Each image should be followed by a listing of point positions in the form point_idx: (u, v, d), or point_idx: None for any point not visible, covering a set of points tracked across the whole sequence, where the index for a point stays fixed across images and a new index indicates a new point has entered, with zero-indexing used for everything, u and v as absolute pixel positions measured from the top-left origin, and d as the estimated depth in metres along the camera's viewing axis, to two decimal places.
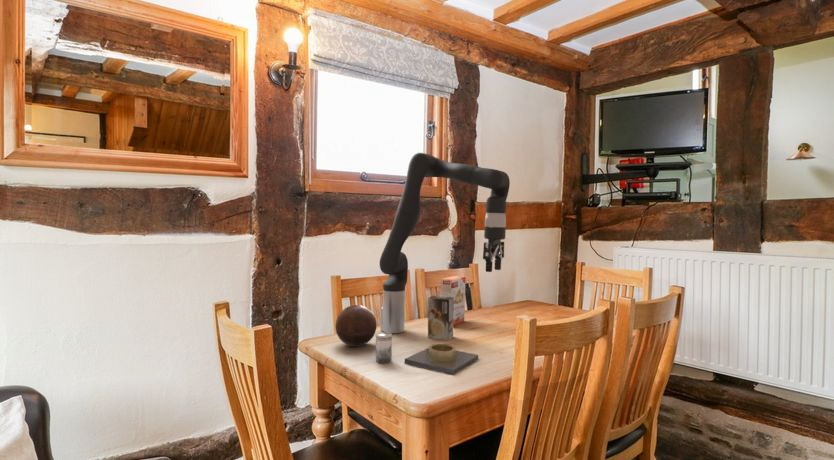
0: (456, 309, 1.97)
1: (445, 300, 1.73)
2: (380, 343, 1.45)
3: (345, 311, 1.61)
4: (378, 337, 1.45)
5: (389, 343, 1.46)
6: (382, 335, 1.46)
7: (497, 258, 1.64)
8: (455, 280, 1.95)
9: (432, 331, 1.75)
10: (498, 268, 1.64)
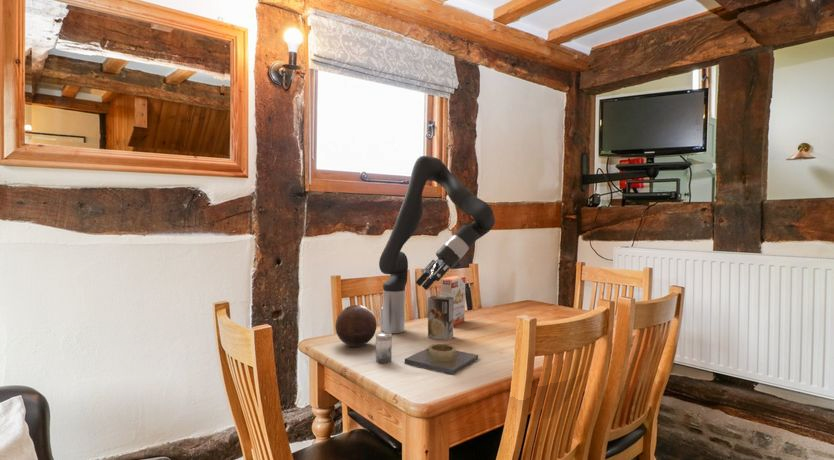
0: (456, 309, 1.97)
1: (445, 300, 1.73)
2: (380, 343, 1.45)
3: (345, 311, 1.61)
4: (378, 337, 1.45)
5: (389, 343, 1.46)
6: (382, 335, 1.46)
7: (425, 275, 1.55)
8: (455, 280, 1.95)
9: (432, 331, 1.75)
10: (419, 284, 1.54)
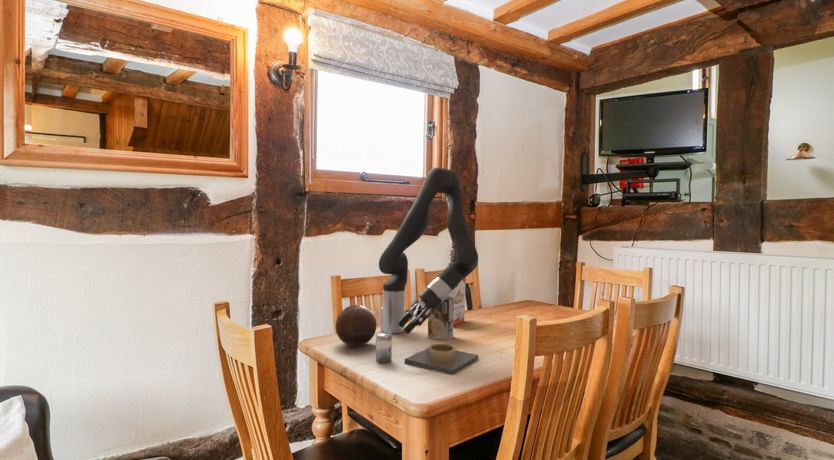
0: (456, 309, 1.97)
1: (445, 300, 1.73)
2: (380, 343, 1.45)
3: (345, 311, 1.61)
4: (378, 337, 1.45)
5: (389, 343, 1.46)
6: (382, 335, 1.46)
7: (407, 316, 1.53)
8: None
9: (432, 331, 1.75)
10: (401, 325, 1.53)
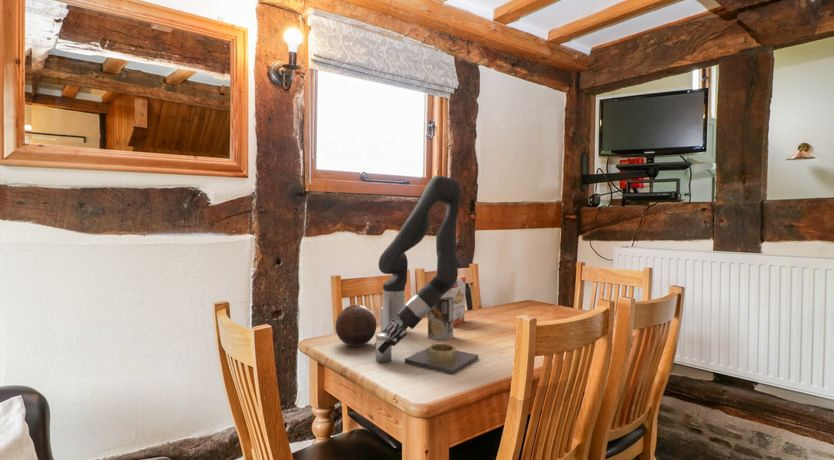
0: (456, 309, 1.97)
1: (445, 300, 1.73)
2: (380, 343, 1.45)
3: (345, 311, 1.61)
4: (378, 337, 1.45)
5: None
6: (382, 335, 1.46)
7: None
8: None
9: (432, 331, 1.75)
10: None
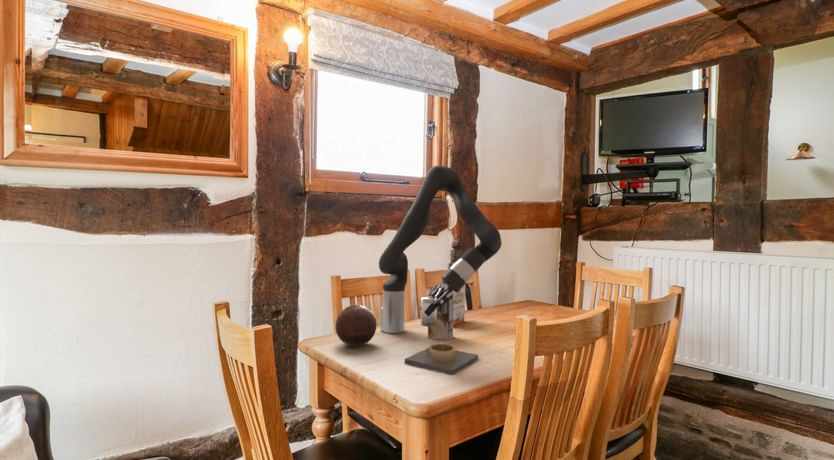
0: (456, 309, 1.97)
1: None
2: (426, 305, 1.45)
3: (345, 311, 1.61)
4: (424, 300, 1.45)
5: None
6: (428, 298, 1.46)
7: None
8: None
9: (432, 331, 1.75)
10: None
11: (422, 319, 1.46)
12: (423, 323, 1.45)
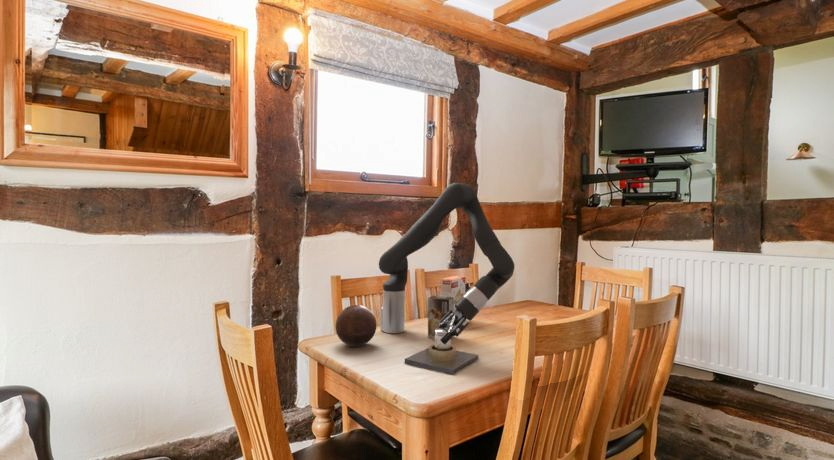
0: None
1: (445, 300, 1.73)
2: (440, 338, 1.45)
3: (345, 311, 1.61)
4: (438, 333, 1.46)
5: None
6: (442, 331, 1.46)
7: (442, 326, 1.52)
8: (455, 280, 1.95)
9: (432, 331, 1.75)
10: None
11: None
12: None
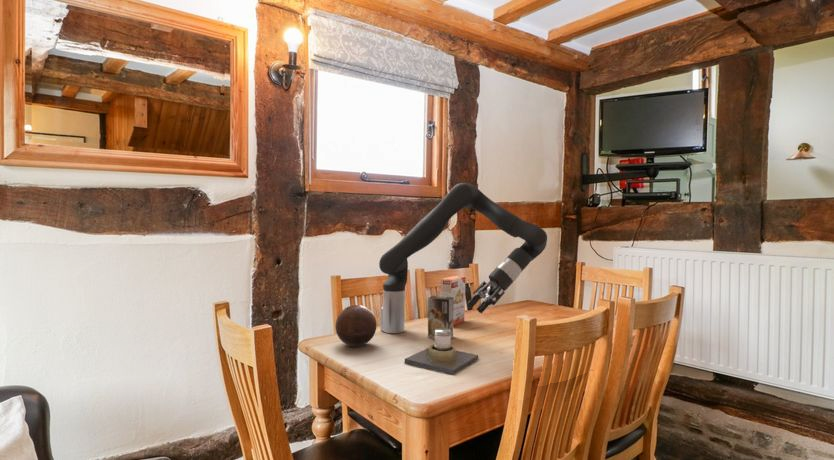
0: (456, 309, 1.97)
1: (445, 300, 1.73)
2: (440, 339, 1.45)
3: (345, 311, 1.61)
4: (438, 333, 1.46)
5: (449, 339, 1.46)
6: (441, 331, 1.46)
7: (477, 297, 1.55)
8: (455, 280, 1.95)
9: (432, 331, 1.75)
10: (471, 305, 1.54)
11: None
12: None
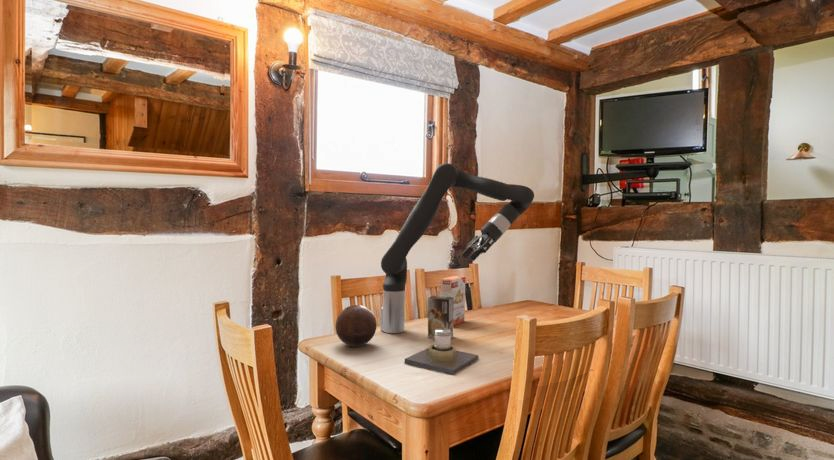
0: (456, 309, 1.97)
1: (445, 300, 1.73)
2: (440, 339, 1.45)
3: (345, 311, 1.61)
4: (438, 333, 1.46)
5: (449, 339, 1.46)
6: (441, 331, 1.46)
7: (470, 248, 1.73)
8: (455, 280, 1.95)
9: (432, 331, 1.75)
10: (464, 256, 1.72)
11: None
12: None
